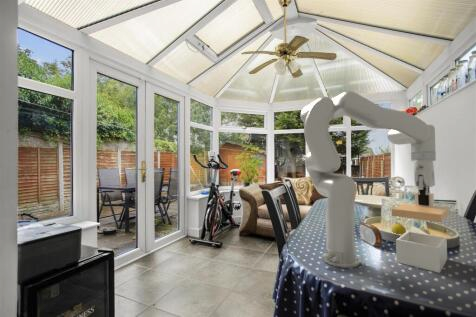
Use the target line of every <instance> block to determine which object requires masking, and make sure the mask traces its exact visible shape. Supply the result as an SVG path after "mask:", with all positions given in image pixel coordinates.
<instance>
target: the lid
mask: <svg viewBox="0 0 476 317" xmlns="http://www.w3.org/2000/svg"><path fill="white" fill-rule="evenodd" d="M428 195H429V206H425V205H419V204H418V192H417V191H416V192H414V203H405V202H404V203H402V204H400V205H397V206H395V207H393V208H392V207H391V216H392V217H398V218H405V219H412V220H413V219H415V220H421V221H428V222H436V223H443V222H444V221H445V219H446V218H447V217H448V216H450V207H445V206H437V205H436V206H435V193H431V192H430V193H428Z"/></svg>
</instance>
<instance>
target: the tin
mask: <svg viewBox="0 0 476 317" xmlns="http://www.w3.org/2000/svg"><path fill="white" fill-rule="evenodd" d="M358 230H359V236H360V238H361V239H362V241H364V242H365V243H366V244H368V245H370V246H371V247H381V246H382V244H383V237H382V233H381V231H380V229H379V228H378V227H377V226H375V225H373V224H371V223H370V222H367V221H366V222H361V223H359V225H358Z"/></svg>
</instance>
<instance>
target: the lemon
mask: <svg viewBox="0 0 476 317" xmlns="http://www.w3.org/2000/svg"><path fill="white" fill-rule="evenodd" d="M392 232H393V233H396V234H401V235H403V234H404V233H405V232H407V230H406V228H405V226H404V225H402V224H400V223H398V222H397V223H396V224H394V225H393V226H392V228H391V233H392Z"/></svg>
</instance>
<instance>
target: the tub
mask: <svg viewBox="0 0 476 317" xmlns="http://www.w3.org/2000/svg"><path fill="white" fill-rule="evenodd" d="M447 240H448V239H447V236H446V237H445V236H440V235H434V234H427V233H421V232H415V231H411V230H406V232H405V233H404V234H403V235H401V236H400V237H399V238H397V239H395V244H396V245H395V253H396V254H395V258H396V262H397V263H399V264H404V265H406V266H407V265H408V266H411V267H415V268H419V269H422V270H425V271H431V272H435V273H439V274H440V273H441V272H442V270H443V268H444V266H445V265H446V262H447V260H448V247H447V246H448V242H447Z"/></svg>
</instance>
